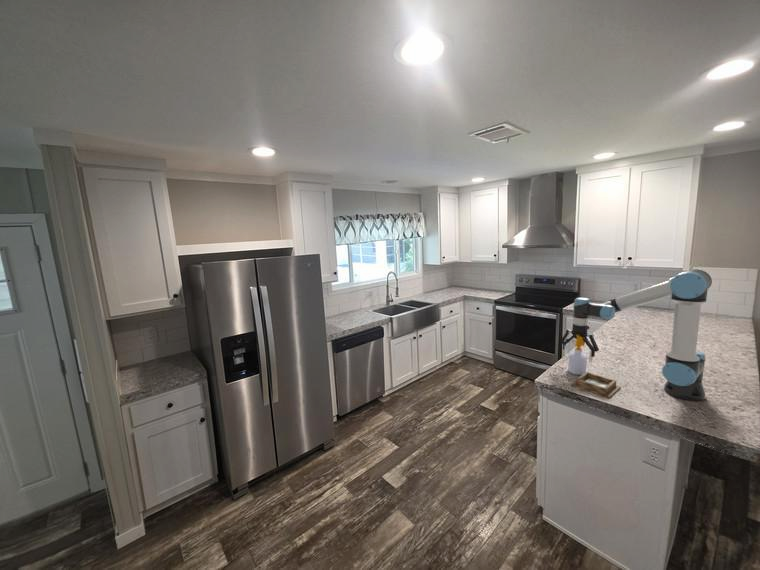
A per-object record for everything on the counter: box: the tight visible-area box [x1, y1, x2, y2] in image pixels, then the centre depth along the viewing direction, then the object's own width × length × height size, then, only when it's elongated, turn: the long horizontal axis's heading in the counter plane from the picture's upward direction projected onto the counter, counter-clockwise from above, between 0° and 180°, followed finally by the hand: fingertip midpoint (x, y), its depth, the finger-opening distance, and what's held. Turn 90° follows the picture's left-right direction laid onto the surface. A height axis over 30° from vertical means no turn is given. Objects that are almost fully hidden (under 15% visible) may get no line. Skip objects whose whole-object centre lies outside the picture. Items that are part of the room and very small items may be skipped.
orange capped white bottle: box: [567, 334, 588, 376], centre depth 187 cm, size 9×9×25 cm
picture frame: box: [570, 371, 621, 399], centre depth 171 cm, size 18×16×4 cm
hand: (577, 358), depth 188 cm, fingers open, 13 cm apart
